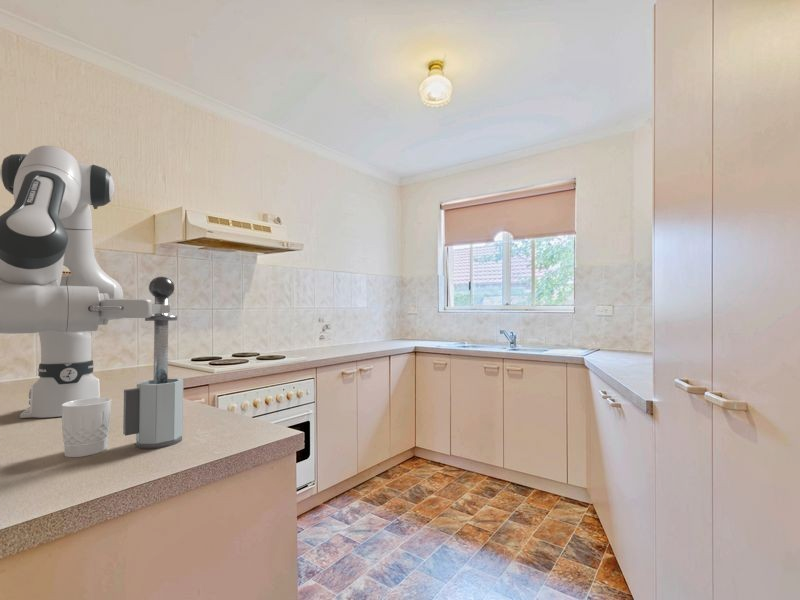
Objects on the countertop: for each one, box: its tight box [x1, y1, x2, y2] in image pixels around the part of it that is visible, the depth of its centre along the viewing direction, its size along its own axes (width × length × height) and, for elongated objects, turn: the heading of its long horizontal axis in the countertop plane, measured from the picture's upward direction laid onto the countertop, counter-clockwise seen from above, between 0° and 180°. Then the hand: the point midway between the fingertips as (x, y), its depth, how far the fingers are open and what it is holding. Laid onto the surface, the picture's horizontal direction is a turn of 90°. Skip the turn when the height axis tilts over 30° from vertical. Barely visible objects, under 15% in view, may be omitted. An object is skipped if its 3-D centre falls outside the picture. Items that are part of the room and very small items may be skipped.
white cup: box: [61, 397, 112, 458], centre depth 79 cm, size 8×8×10 cm
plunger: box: [144, 276, 178, 384], centre depth 85 cm, size 6×6×26 cm
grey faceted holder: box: [122, 377, 184, 450], centre depth 84 cm, size 8×11×13 cm
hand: (166, 309), depth 86 cm, fingers open, 3 cm apart
